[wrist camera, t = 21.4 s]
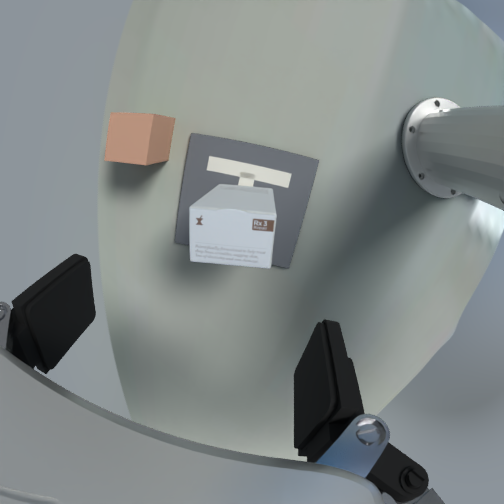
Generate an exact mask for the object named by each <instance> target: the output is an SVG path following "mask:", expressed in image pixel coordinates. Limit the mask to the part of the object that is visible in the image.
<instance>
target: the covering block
mask: <svg viewBox="0 0 504 504" xmlns="http://www.w3.org/2000/svg"><path fill="white" fill-rule="evenodd" d="M174 124H175V118H172V117H167V116H162V115H156V114H145V113H111V115H110V121H109V127H108V134H107V142H106V151H105V161H114V162H123V163H131V164H139V165H150V164H154V163H159V162H163V161H168V160H169V153H170V147H171V141H172V135H173V129H174Z"/></svg>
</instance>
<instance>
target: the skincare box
mask: <svg viewBox="0 0 504 504" xmlns="http://www.w3.org/2000/svg"><path fill="white" fill-rule="evenodd" d="M276 218H277V214H276V209H275V202H274V194H273V189H272V188H262V187H252V186H240V185H228V184H219V185H217V186H216V187H215V188H213V189H212V190H211V191H209V192H208V193H207V194H205V195H204V196H203V197H202V198H200V199H199V200H198V201H196V202H195V203H194V204H192V205H191V206H190V207H189V240H190V261H191V262H201V263H212V264H224V265H235V266H246V267H257V268H268V269H270V268H271V263H272V253H273V244H274V235H275V227H276Z"/></svg>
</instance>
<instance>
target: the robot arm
mask: <svg viewBox="0 0 504 504" xmlns="http://www.w3.org/2000/svg"><path fill="white" fill-rule="evenodd" d="M409 128H410V131H409ZM402 150H403V154H404V159H405V162H406V165H407V168H408V170H409V172H410V174H411V175H412V177H413V179H414V180H415V181H416V183H417V184H418V185H419V186H420V187H421V188H422V189H423V190H425V191H426V192H428V193H430V194H432V195H434V196H437V197H440V198H453V197H456V196H459V195H460V194H462V193H464V194H466V195H469V196H471V197H474V198H476V199H479V200H481V201H483V202H486V203H488V204H490V205H493V206H495V207H497V208H499V209H501V210H503V211H504V106H477V107H462V108H461V107H459V106H458V105H457V104H456V103H454V102H452V101H450V100H448V99H445V98H441V97H433V98H428V99H425V100H422V101H420V102H419V103H417V104H416V105H415V106H414V107H413V108H412V109H411V111H410V112H409V113H408V116H407V118H406V120H405V123H404V127H403V132H402ZM12 304H13V307H14V308H13V309H12V310H11V308H10V306H9V305H8V304H7V303H5V302H0V504H445V503H444V502H443V501H442V500H441V498H440V497H439V496H438V495H437V493H436V492H435V491H434V489H433V488H431V489H430V490H429V489H428V488H427V486H428V481H429V479H428V474H427V472H426V471H425V469H424V468H423V467H422V466H420V465H419V464H417V463H416V462H415V461H413V460H412V459H410V458H409V457H408V456H406V455H405V454H403V453H402V452H401V451H399V450H398V449H397V448H395V447H394V446H393V445H391V444H390V443H389V442H388V441H389V438H390V431H389V429H388V426H387V425H386V423H385V422H384V421H383V420H382V419H381V418H379V417H377V416H375V415H371V414H364V409H363V404H362V399H361V395H360V390H359V386H358V382H357V377H356V373H355V369H354V365H353V362H352V359H351V358H348V356H347V352H346V348H345V344H344V340H343V336H342V332H341V328H340V324H339V323H338V322H335V321H330V320H323V321H322V323H320V322H318V323H317V325H316V327H315V329H314V331H313V334H312V336H311V338H310V340H309V342H308V344H307V347H306V349H305V351H304V353H303V355H302V357H301V359H300V361H299V363H298V365H297V367H296V370H295V373H294V448H297V449H298V456H307V462H304V461H296V460H288V459H281V458H273V457H266V456H259V455H253V454H248V453H242V452H237V451H232V450H227V449H222V448H218V447H213V446H209V445H205V444H201V443H197V442H194V441H190V440H186V439H183V438H180V437H176V436H173V435H170V434H167V433H164V432H161V431H158V430H155V429H152V428H149V427H147V426H144V425H141V424H139V423H136V422H133V421H131V420H128V419H126V418H123V417H121V416H119V415H116V414H114V413H112V412H110V411H108V410H105V409H103V408H101V407H99V406H97V405H95V404H93V403H91V402H89V401H87V400H85V399H83V398H81V397H79V396H77V395H75V394H74V393H71V392H70V391H68V390H66V389H65V388H63V387H61V386H59V385H57V384H56V383H54V382H52V381H51V380H50V379H48V378H46V377H45V376H43V375H42V374H40V373H39V372H37V371H35V370H34V367H35V366H36V367H37V369H39V370H40V371H42V372H44V373H45V374H47V372H48V371H49V370H50V369H53V368H54V367H55V366H56V365H57V364H58V362H59V361H60V360H61V359H62V357H63V356H64V355H65V354H66V352H67V351H68V350H69V349H70V347H71V346H72V345H73V344H74V343H75V341H76V340H77V339H78V338H79V337H80V335H81V334H82V333H83V332H84V331H85V330H86V328H87V327H88V326H89V325H90V324H91V323H92V322H93V320H94V318H95V315H96V312H95V305H94V297H93V288H92V279H91V269H90V263H89V262H88V259H87V258H86V257H84V256H81V255H78V254H73V255H72V256H70V257H69V258H68V259H66V260H65V261H63V262H62V263H61V264H59V265H58V266H57V267H55V268H54V269H52V270H51V271H50V272H48V273H47V274H46V275H44V276H43V277H42V278H40V279H39V280H38V281H36V282H35V283H34V284H33V285H32V286H30V287H29V288H27V289H26V290H25V291H24V292H22V294H20V295H19V296H18V297H16V298H15V299H14V300H13V301H12Z"/></svg>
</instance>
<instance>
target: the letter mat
mask: <svg viewBox="0 0 504 504" xmlns="http://www.w3.org/2000/svg"><path fill="white" fill-rule="evenodd" d="M318 163H319V160H317V159H313V158H309V157H306V156H302V155H298V154H294V153H290V152H286V151H282V150H278V149H274V148H270V147H265V146H261V145H256V144H251V143H247V142H242V141H236V140H231V139H226V138H220V137H214V136H208V135H202V134H195V133H191V138H190V143H189V148H188V154H187V159H186V165H185V171H184V177H183V183H182V190H181V197H180V204H179V211H178V219H177V227H176V235H175V242H177V243H181V244H185V245H189V246H190V240H189V207H190V206H191V205H192V204H194V203H195V202H196V201H198V200H199V199H200V198H202V197H203V196H204V195H205V194H207V193H208V192H209V191H211V190H212V189H213V188H215V187H216V186H217V185H219V184H228V185H240V186H252V187H262V188H272V189H273V194H274V202H275V209H276V214H277V218H276V227H275V235H274V244H273V253H272V263H271V265H275V266H280V267H284V268H288V269H289V266H290V263H291V259H292V256H293V253H294V249H295V246H296V243H297V239H298V236H299V232H300V229H301V226H302V222H303V219H304V215H305V211H306V208H307V204H308V201H309V197H310V193H311V190H312V186H313V182H314V178H315V175H316V171H317V167H318Z"/></svg>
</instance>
